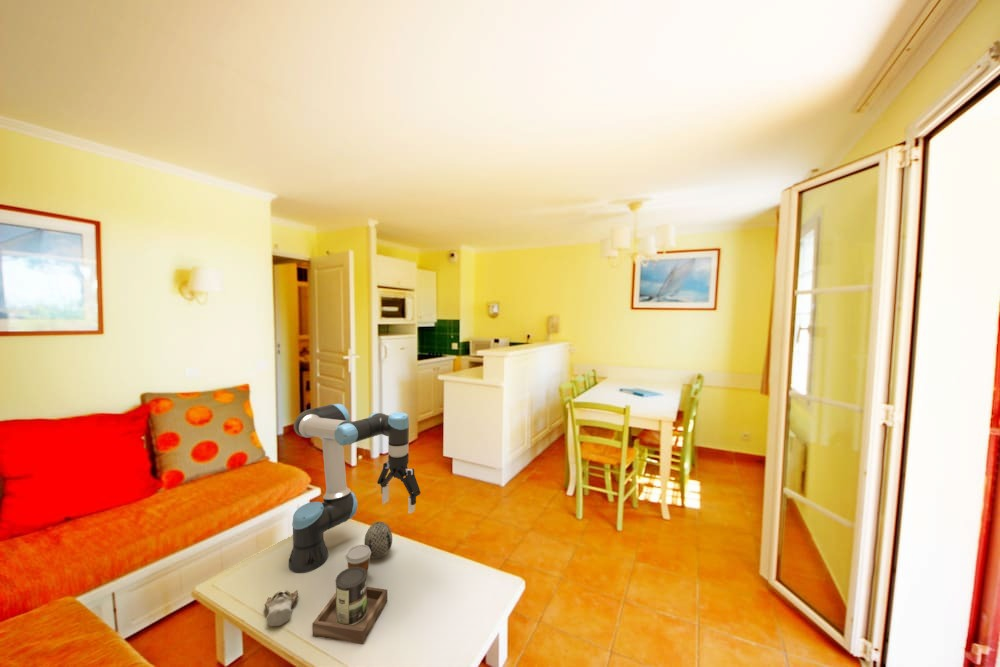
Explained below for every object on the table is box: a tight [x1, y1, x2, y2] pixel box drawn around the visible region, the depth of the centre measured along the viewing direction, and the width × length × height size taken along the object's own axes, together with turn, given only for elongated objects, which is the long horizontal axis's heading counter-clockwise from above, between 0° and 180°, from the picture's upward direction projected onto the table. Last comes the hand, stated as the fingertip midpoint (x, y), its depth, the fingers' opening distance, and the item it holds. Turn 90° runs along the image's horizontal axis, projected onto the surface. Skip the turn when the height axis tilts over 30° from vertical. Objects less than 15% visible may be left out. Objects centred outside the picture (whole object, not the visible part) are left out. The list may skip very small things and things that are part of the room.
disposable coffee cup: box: [345, 544, 371, 575], centre depth 147 cm, size 10×10×12 cm
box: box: [311, 586, 389, 645], centre depth 129 cm, size 18×18×4 cm
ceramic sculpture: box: [264, 589, 299, 627], centre depth 130 cm, size 11×9×15 cm
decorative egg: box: [363, 521, 393, 559], centre depth 161 cm, size 12×12×15 cm
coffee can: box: [335, 567, 368, 626], centre depth 129 cm, size 10×10×14 cm
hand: (398, 507), depth 142 cm, fingers open, 13 cm apart
